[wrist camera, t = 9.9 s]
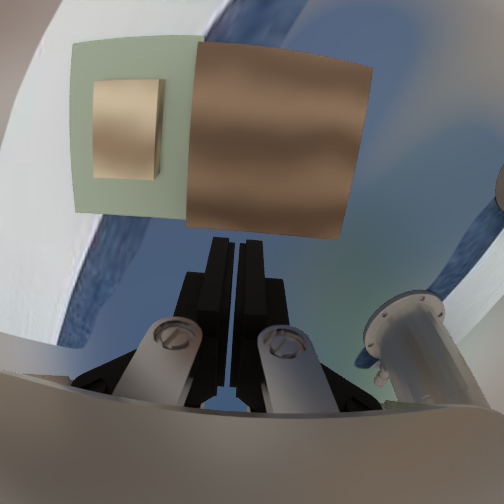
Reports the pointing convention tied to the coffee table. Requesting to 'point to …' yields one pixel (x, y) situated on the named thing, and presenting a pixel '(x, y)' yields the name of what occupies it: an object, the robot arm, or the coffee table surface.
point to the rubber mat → (173, 126)
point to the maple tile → (127, 128)
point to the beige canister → (500, 189)
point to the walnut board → (273, 139)
